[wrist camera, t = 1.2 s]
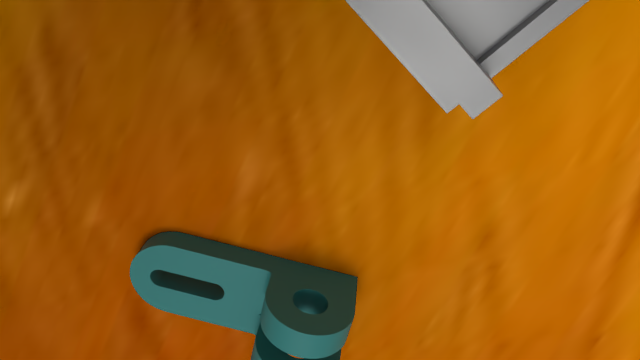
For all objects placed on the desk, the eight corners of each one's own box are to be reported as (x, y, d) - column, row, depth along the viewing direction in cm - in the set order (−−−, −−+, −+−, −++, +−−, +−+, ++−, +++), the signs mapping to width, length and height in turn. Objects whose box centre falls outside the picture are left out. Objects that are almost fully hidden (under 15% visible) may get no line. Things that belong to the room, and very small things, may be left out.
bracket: (357, 275, 42) (352, 345, 35) (338, 335, 45) (329, 411, 38) (144, 221, 42) (95, 280, 35) (139, 285, 45) (94, 351, 38)
